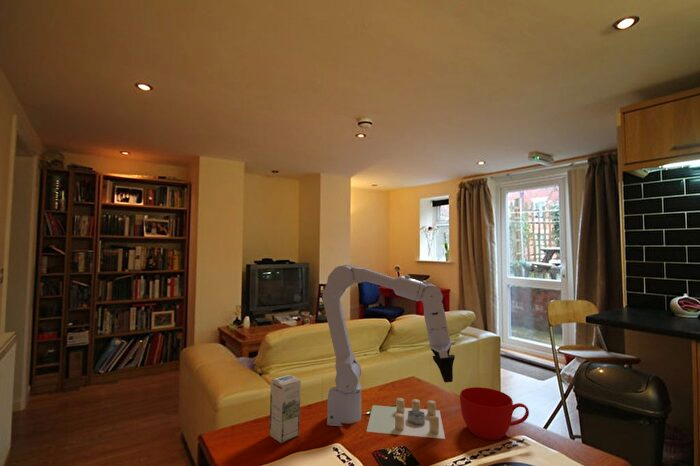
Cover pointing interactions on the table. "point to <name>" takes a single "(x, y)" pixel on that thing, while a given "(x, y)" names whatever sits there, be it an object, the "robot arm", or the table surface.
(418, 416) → the grey faceted polyhedron
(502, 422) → the ceramic cup
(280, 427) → the syrup box
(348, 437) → the table surface
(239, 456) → the table surface
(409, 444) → the table surface
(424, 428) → the board
